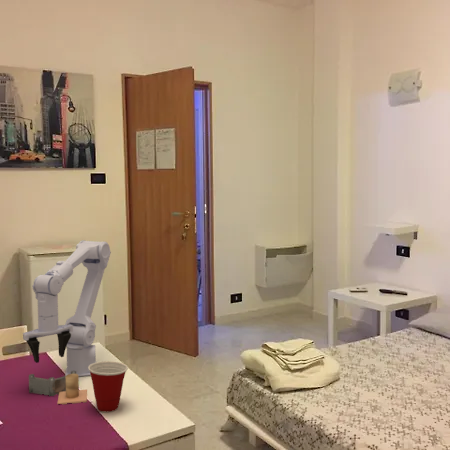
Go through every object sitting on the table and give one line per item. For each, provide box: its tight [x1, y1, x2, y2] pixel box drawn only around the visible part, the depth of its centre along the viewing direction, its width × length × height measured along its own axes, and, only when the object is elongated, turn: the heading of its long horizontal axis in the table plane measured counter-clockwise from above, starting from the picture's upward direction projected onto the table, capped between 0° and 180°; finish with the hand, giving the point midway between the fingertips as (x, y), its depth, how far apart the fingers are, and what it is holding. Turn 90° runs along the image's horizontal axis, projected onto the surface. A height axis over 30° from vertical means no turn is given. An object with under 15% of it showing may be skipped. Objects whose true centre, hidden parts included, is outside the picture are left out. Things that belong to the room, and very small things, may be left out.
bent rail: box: [28, 371, 76, 397], centre depth 156 cm, size 14×6×5 cm, turn 104°
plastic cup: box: [88, 360, 129, 413], centre depth 146 cm, size 11×11×12 cm
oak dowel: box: [66, 374, 80, 399], centre depth 152 cm, size 4×4×6 cm
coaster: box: [57, 389, 88, 405], centre depth 153 cm, size 8×8×1 cm
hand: (49, 358), depth 158 cm, fingers open, 7 cm apart
